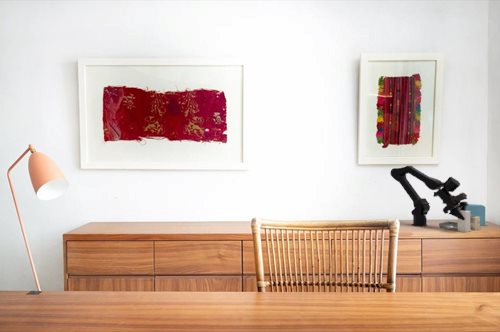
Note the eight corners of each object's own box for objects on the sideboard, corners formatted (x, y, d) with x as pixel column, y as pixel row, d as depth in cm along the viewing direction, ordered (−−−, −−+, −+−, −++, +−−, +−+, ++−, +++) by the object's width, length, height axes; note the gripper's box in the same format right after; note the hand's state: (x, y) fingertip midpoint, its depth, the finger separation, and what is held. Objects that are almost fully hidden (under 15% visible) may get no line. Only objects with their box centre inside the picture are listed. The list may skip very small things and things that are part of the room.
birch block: (463, 228, 239) (464, 216, 238) (468, 227, 242) (468, 215, 242) (474, 230, 234) (475, 217, 234) (479, 229, 238) (479, 216, 237)
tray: (439, 226, 245) (439, 223, 245) (448, 225, 252) (448, 221, 252) (458, 229, 237) (458, 225, 237) (467, 227, 243) (467, 223, 243)
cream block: (457, 231, 231) (457, 210, 231) (461, 230, 234) (462, 210, 234) (466, 232, 228) (466, 211, 228) (470, 231, 231) (470, 210, 231)
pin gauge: (441, 226, 244) (440, 228, 243) (440, 224, 243) (439, 226, 243) (459, 228, 236) (458, 230, 235) (458, 226, 236) (457, 228, 235)
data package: (483, 224, 254) (483, 204, 253) (485, 225, 249) (485, 205, 249) (461, 223, 257) (461, 204, 257) (462, 224, 253) (463, 204, 253)
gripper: (448, 188, 228) (469, 211, 220) (464, 187, 240) (485, 208, 231) (434, 202, 234) (454, 224, 226) (451, 200, 246) (470, 221, 237)
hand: (466, 219), depth 230 cm, fingers closed on cream block, 5 cm apart
